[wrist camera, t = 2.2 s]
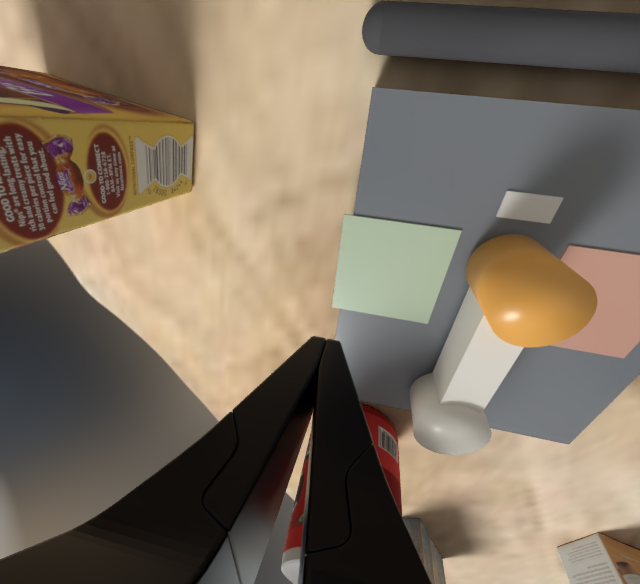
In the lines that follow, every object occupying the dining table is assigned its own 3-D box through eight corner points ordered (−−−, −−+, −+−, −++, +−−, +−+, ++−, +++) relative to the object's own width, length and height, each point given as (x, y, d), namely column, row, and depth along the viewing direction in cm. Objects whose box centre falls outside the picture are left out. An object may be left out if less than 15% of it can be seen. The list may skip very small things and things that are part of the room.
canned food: (320, 390, 25) (284, 548, 16) (409, 413, 24) (426, 591, 15) (308, 437, 29) (275, 584, 20) (384, 458, 29) (386, 619, 19)
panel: (823, 129, 11) (887, 131, 10) (557, 424, 22) (569, 445, 21) (362, 89, 13) (360, 85, 12) (324, 377, 24) (320, 393, 23)
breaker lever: (463, 419, 21) (479, 477, 17) (403, 406, 21) (407, 460, 18) (569, 241, 13) (632, 282, 10) (472, 227, 14) (501, 262, 10)
